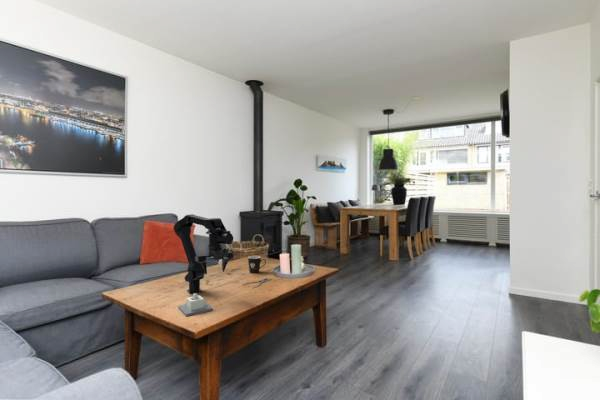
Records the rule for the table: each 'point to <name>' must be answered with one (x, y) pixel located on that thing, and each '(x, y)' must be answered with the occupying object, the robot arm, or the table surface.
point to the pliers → (258, 281)
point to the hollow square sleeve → (195, 303)
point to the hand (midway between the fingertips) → (214, 273)
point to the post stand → (188, 312)
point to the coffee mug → (254, 264)
